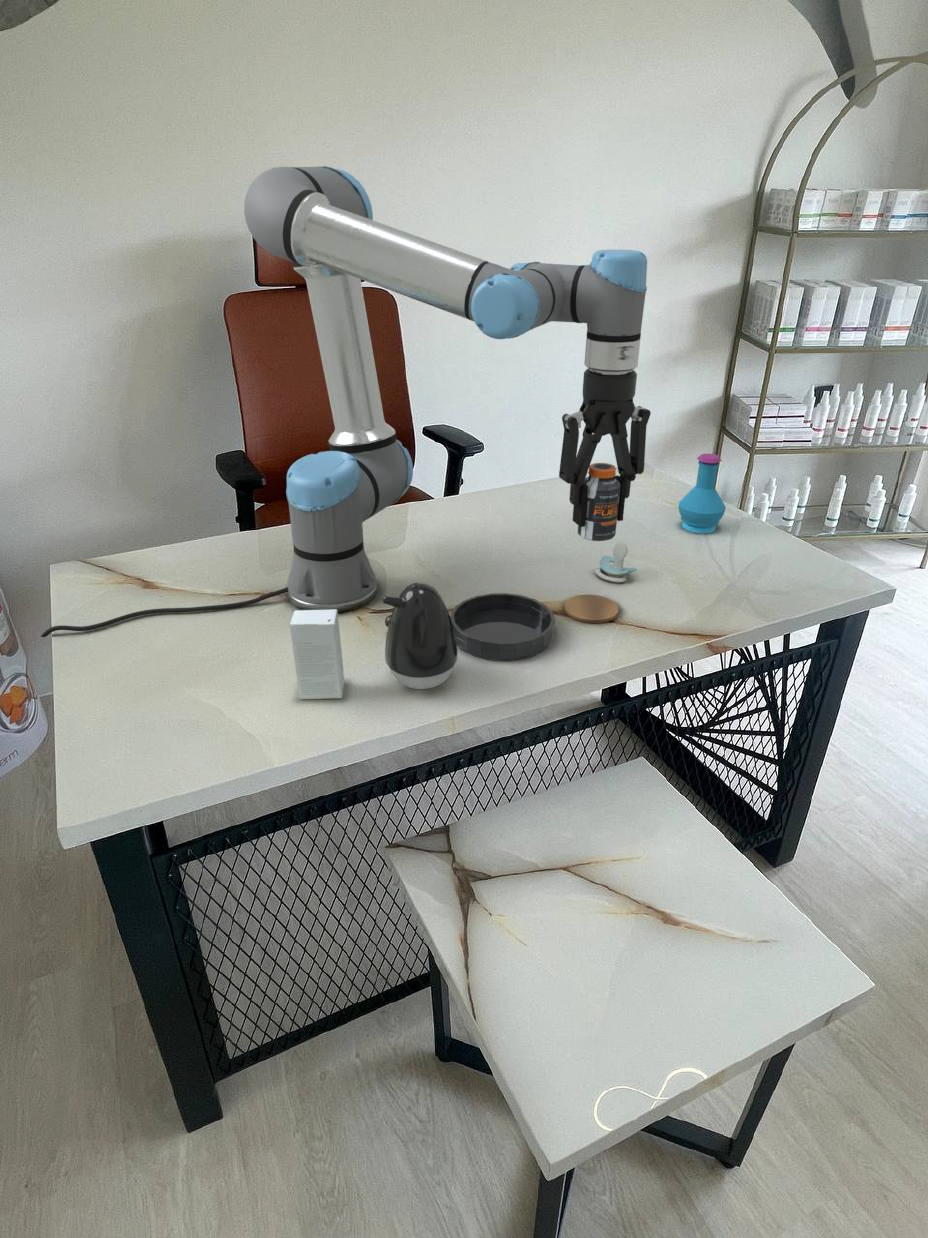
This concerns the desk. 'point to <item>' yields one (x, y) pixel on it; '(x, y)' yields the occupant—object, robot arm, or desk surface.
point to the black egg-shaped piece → (420, 638)
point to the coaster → (591, 608)
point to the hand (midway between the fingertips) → (597, 520)
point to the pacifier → (615, 564)
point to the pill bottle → (601, 503)
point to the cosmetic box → (317, 653)
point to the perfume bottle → (703, 499)
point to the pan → (503, 626)
